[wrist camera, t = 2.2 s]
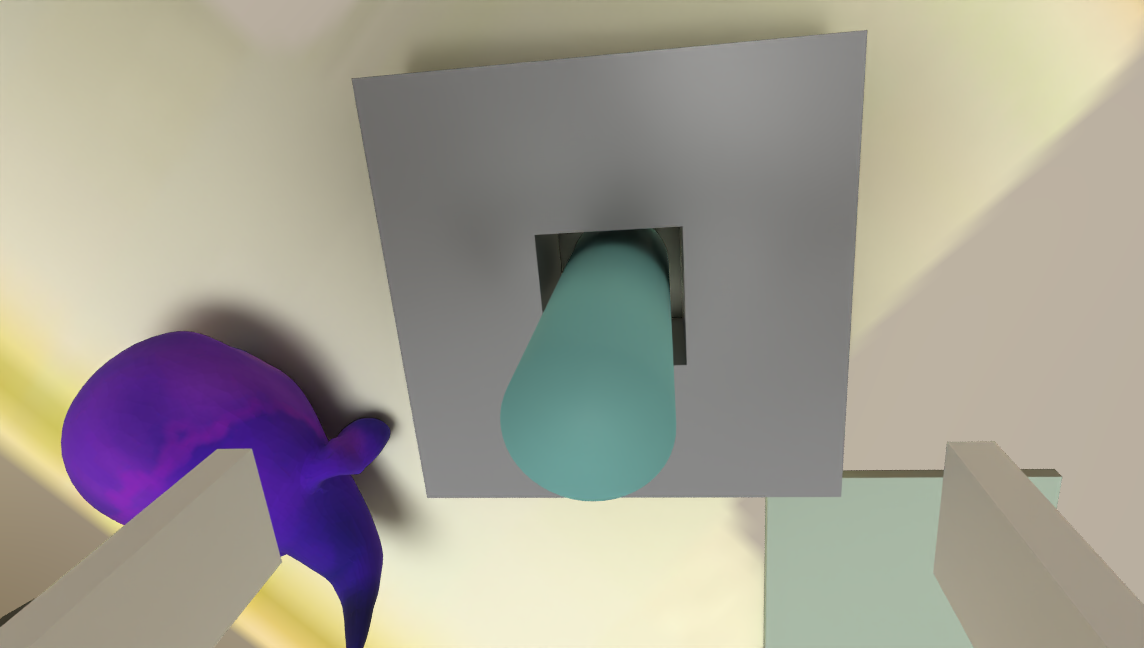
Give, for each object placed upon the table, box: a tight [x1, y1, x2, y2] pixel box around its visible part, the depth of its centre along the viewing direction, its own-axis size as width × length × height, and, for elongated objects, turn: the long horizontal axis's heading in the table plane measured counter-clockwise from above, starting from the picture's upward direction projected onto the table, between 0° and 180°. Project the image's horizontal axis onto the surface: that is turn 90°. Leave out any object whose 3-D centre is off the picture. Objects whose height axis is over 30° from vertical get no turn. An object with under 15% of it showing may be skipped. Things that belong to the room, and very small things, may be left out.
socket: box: [352, 30, 867, 498], centre depth 26 cm, size 16×16×5 cm
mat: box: [764, 469, 1062, 648], centre depth 32 cm, size 12×12×1 cm
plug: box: [500, 228, 676, 501], centre depth 22 cm, size 4×4×14 cm
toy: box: [61, 331, 390, 648], centre depth 29 cm, size 9×10×15 cm
